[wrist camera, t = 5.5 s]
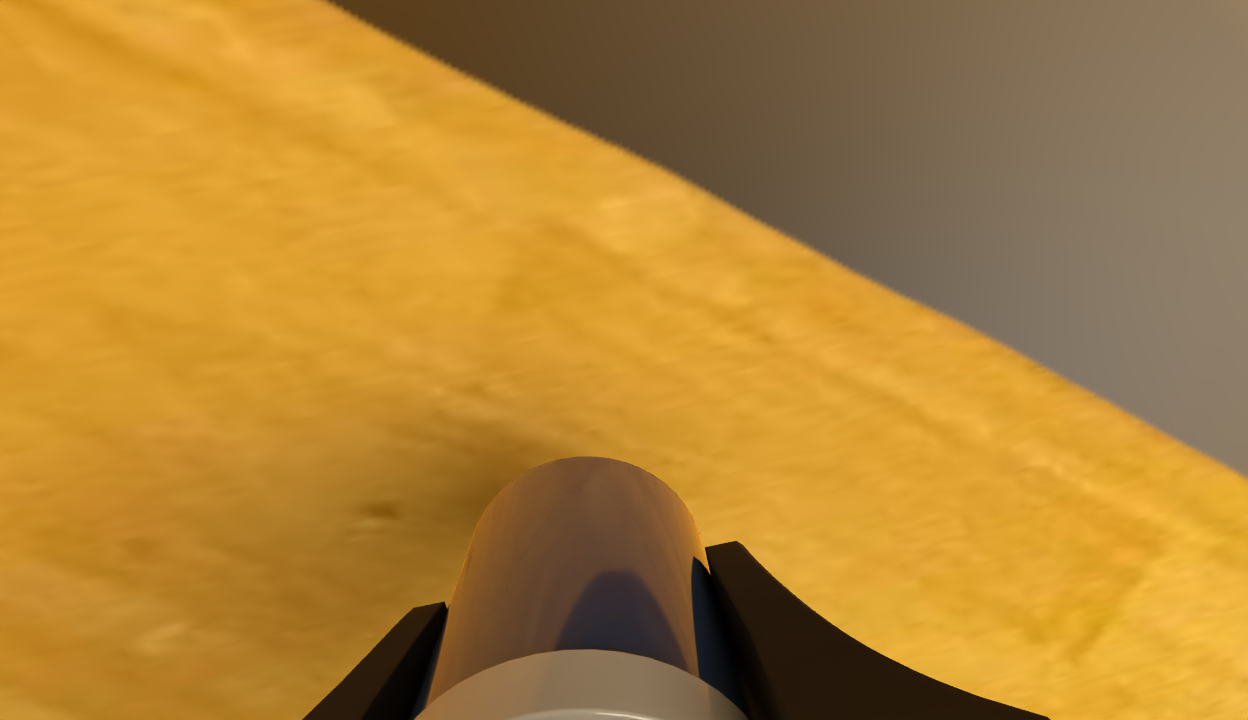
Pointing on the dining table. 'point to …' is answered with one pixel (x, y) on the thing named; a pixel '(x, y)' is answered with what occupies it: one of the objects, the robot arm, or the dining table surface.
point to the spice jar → (584, 607)
